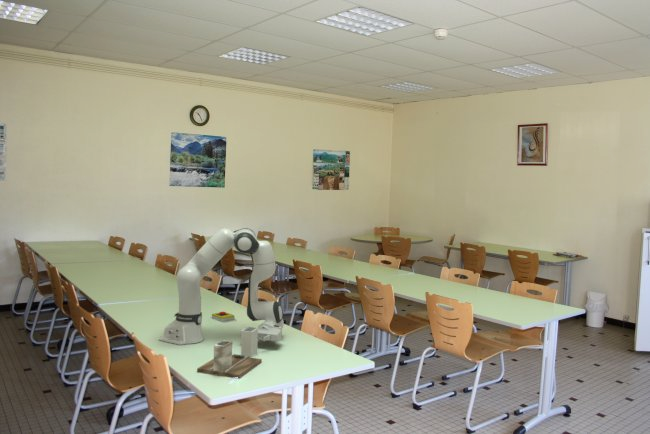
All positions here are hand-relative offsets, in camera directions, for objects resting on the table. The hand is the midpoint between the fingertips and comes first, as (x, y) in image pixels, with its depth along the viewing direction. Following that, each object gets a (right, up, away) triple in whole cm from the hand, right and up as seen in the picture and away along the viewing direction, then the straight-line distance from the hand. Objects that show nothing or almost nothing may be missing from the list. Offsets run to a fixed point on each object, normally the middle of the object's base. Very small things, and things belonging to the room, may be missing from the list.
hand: (254, 338), depth 260 cm
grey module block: (-2, -7, -5) cm, 8 cm away
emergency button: (-26, -3, +59) cm, 65 cm away
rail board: (-8, -8, -23) cm, 25 cm away
